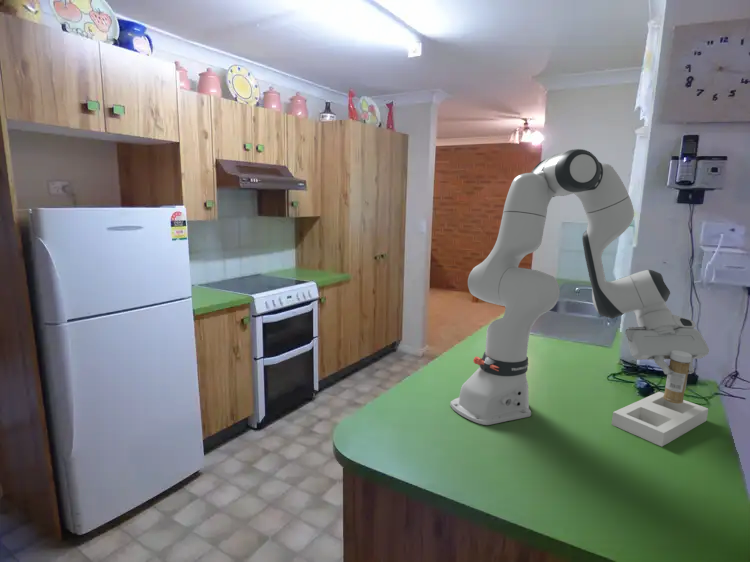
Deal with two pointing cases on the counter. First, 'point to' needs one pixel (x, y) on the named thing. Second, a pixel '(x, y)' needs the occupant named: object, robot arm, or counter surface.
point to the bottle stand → (659, 418)
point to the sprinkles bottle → (677, 376)
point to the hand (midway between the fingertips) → (679, 373)
